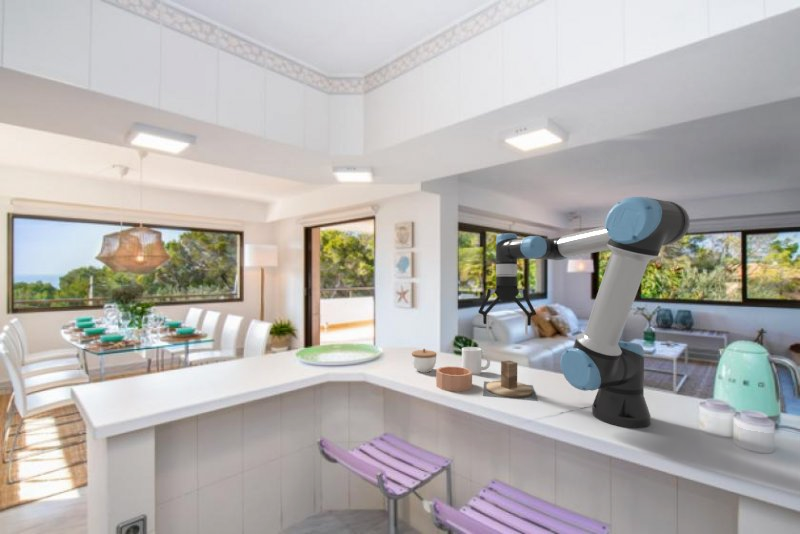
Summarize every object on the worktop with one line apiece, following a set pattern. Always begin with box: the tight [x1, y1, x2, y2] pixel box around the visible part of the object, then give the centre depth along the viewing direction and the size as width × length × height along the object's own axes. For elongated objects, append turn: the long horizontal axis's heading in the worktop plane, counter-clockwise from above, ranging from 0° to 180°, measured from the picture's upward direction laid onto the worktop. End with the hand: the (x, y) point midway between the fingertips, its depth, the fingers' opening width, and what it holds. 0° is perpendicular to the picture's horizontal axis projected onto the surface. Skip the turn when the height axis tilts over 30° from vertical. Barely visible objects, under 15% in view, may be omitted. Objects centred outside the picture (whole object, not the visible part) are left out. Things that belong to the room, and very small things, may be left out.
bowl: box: [435, 365, 473, 392], centre depth 141 cm, size 13×13×6 cm
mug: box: [461, 346, 491, 375], centre depth 161 cm, size 12×8×10 cm
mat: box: [482, 380, 539, 402], centre depth 136 cm, size 18×18×1 cm
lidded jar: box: [411, 348, 437, 373], centre depth 164 cm, size 11×11×9 cm
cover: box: [486, 360, 532, 398], centre depth 136 cm, size 16×16×10 cm
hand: (506, 334), depth 138 cm, fingers open, 13 cm apart
